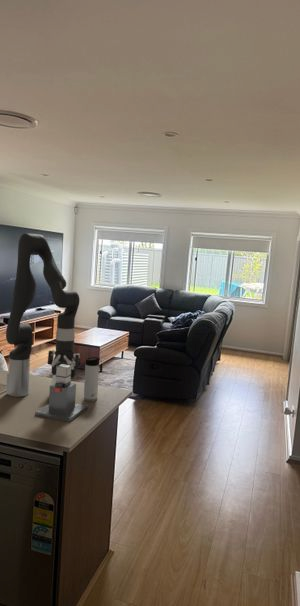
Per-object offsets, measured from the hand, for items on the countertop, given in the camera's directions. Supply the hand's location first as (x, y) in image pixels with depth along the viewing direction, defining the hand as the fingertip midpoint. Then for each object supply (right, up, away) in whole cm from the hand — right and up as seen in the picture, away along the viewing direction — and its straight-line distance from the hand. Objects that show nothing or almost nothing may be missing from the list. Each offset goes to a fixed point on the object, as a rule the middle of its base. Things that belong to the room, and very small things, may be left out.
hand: (63, 376), depth 174 cm
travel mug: (+9, -14, +20) cm, 26 cm away
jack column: (-1, -14, +1) cm, 14 cm away
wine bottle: (-7, -13, +26) cm, 30 cm away
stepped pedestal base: (-1, -16, +2) cm, 16 cm away
